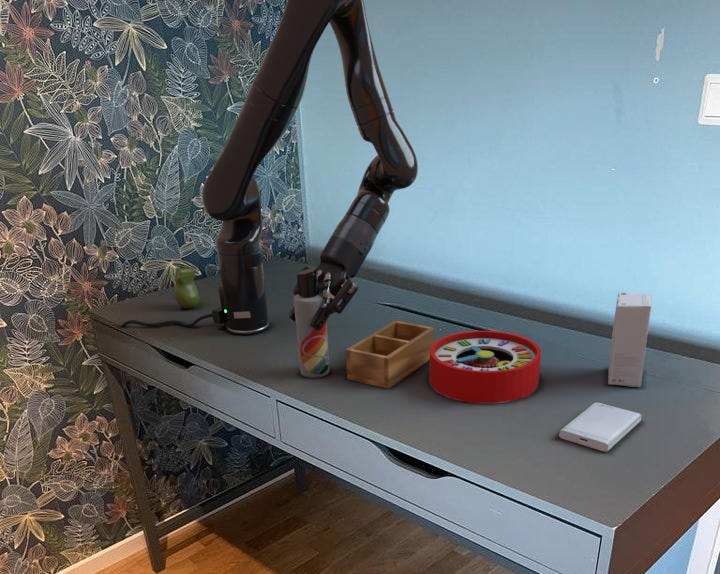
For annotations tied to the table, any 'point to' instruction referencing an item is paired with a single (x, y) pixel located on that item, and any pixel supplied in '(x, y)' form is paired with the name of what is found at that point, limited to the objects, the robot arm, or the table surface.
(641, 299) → the cosmetic box
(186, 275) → the pear
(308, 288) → the lotion bottle
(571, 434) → the hard drive
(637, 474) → the table surface
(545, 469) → the table surface
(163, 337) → the table surface
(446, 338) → the toy clock
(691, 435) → the table surface
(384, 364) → the wooden organizer box
